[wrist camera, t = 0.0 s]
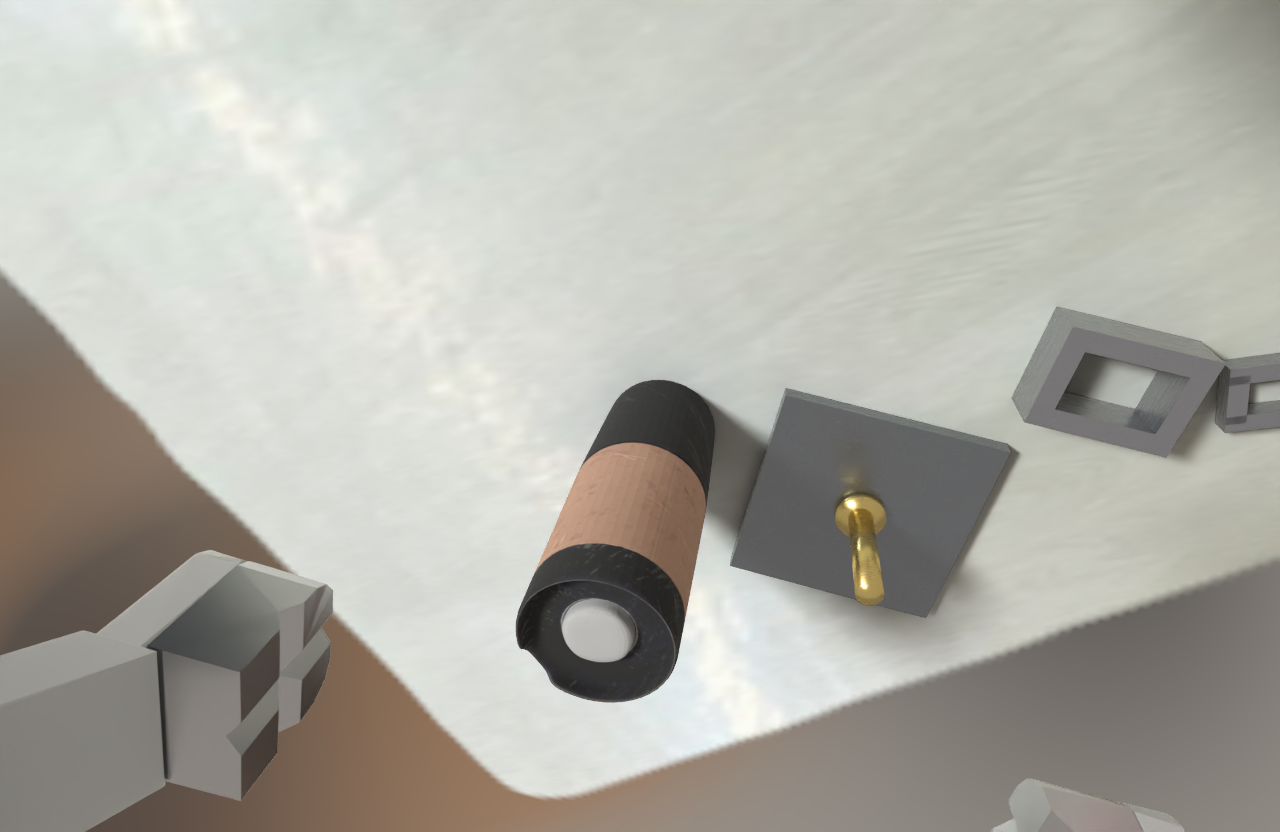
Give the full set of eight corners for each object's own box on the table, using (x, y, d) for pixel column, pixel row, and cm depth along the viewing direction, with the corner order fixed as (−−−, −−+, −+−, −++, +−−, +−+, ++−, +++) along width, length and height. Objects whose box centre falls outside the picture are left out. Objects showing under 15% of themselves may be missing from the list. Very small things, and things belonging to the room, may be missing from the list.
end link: (1056, 306, 44) (1073, 326, 41) (1200, 341, 44) (1225, 363, 41) (1011, 398, 47) (1024, 422, 44) (1145, 431, 47) (1166, 457, 44)
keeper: (785, 388, 49) (783, 462, 42) (1007, 443, 48) (1047, 530, 41) (731, 556, 56) (720, 648, 48) (923, 608, 55) (944, 709, 48)
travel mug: (731, 390, 50) (696, 602, 33) (705, 487, 54) (662, 722, 37) (615, 363, 51) (520, 557, 33) (598, 460, 54) (505, 680, 37)
